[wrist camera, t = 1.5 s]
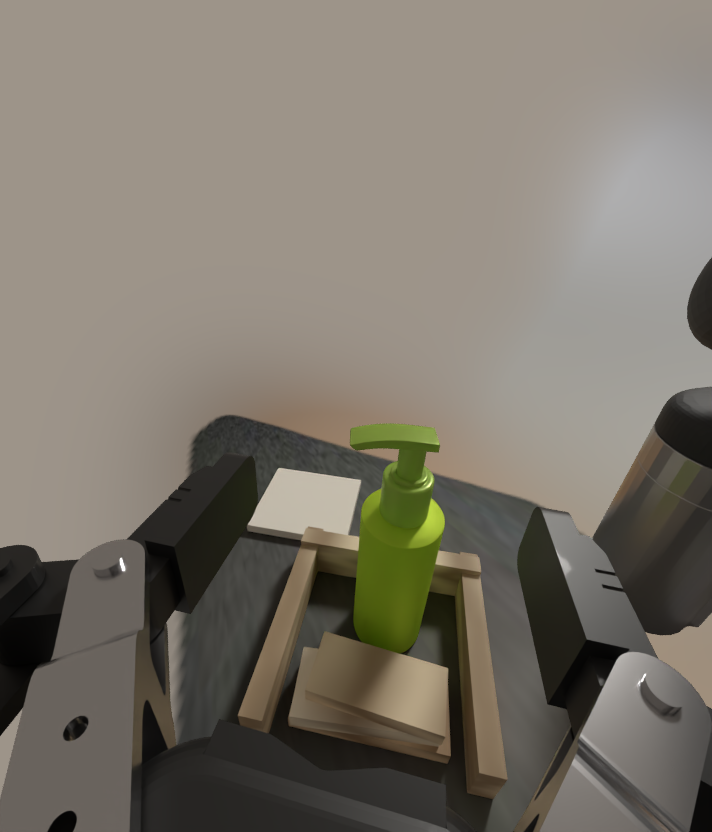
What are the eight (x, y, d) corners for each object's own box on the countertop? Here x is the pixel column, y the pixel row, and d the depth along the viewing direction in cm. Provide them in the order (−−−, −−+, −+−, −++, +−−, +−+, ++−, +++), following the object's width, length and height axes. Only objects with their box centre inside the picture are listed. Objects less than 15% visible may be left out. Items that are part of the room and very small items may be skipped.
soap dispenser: (342, 588, 35) (351, 406, 25) (414, 591, 35) (452, 410, 25) (339, 654, 30) (349, 459, 20) (424, 656, 30) (476, 464, 20)
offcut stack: (444, 683, 29) (453, 657, 27) (447, 770, 24) (458, 747, 22) (307, 654, 30) (306, 627, 28) (286, 731, 26) (283, 706, 24)
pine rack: (469, 578, 37) (478, 551, 35) (493, 799, 23) (509, 776, 21) (308, 549, 39) (307, 522, 37) (243, 737, 25) (236, 711, 23)
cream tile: (360, 486, 48) (361, 480, 47) (345, 548, 39) (346, 541, 39) (279, 473, 49) (278, 467, 49) (247, 531, 41) (246, 524, 40)
